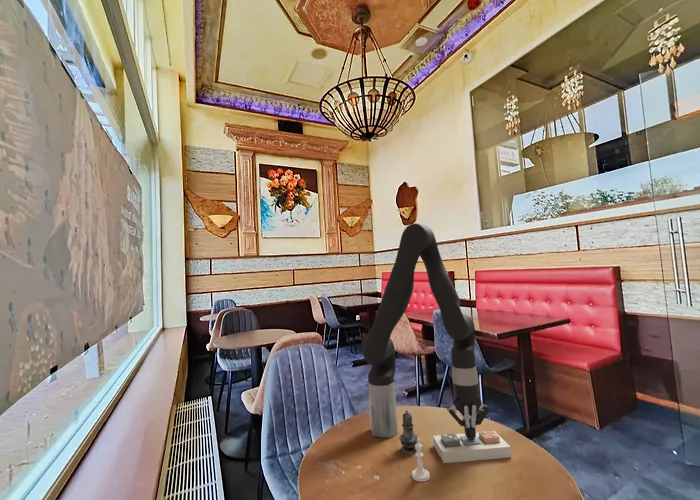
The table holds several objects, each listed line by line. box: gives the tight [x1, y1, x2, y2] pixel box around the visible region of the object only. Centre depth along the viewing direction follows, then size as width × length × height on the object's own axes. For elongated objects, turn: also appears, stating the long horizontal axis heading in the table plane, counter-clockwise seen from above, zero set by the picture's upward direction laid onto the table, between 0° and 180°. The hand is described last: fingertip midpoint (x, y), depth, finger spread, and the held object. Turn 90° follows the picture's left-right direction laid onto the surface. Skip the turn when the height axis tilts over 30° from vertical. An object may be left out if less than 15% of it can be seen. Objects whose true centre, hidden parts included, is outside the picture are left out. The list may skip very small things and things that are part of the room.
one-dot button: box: [460, 436, 480, 446], centre depth 102 cm, size 4×4×3 cm
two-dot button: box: [478, 430, 500, 444], centre depth 102 cm, size 4×4×3 cm
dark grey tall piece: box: [399, 410, 419, 455], centre depth 105 cm, size 6×6×12 cm
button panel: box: [432, 430, 512, 464], centre depth 102 cm, size 20×10×3 cm, turn 93°
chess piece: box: [411, 437, 431, 482], centre depth 91 cm, size 5×5×10 cm
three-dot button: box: [440, 433, 460, 448], centre depth 101 cm, size 4×4×3 cm
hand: (470, 438), depth 102 cm, fingers closed
